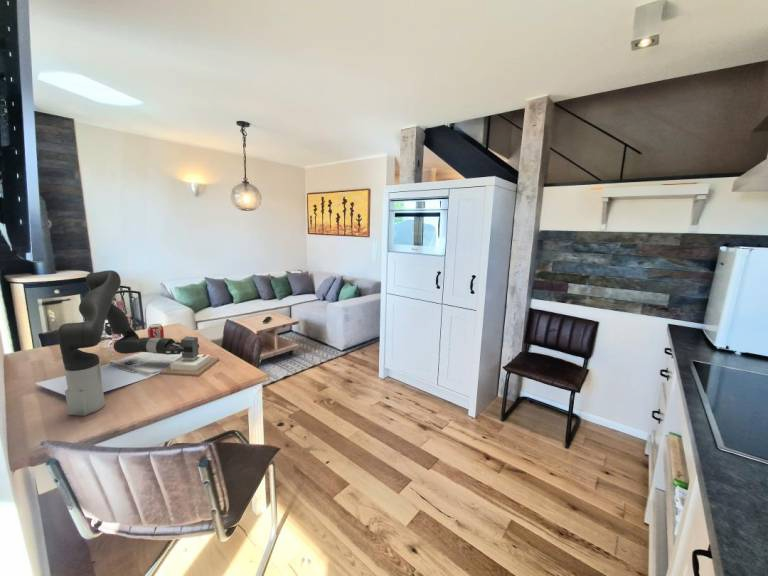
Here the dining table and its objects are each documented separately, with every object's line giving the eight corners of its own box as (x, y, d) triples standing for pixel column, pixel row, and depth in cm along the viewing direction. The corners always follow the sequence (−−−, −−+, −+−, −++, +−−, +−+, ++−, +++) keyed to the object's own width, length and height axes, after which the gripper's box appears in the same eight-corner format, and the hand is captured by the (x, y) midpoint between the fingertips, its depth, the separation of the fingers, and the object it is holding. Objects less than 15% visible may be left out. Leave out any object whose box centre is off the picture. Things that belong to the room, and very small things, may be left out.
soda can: (167, 344, 181) (166, 324, 179) (157, 348, 174) (156, 327, 172) (156, 343, 182) (154, 323, 179) (145, 347, 175) (144, 326, 172)
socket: (198, 376, 147) (197, 367, 146) (159, 374, 147) (159, 365, 146) (219, 360, 164) (218, 352, 164) (184, 358, 165) (184, 350, 164)
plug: (193, 363, 153) (192, 340, 151) (182, 362, 153) (180, 339, 151) (198, 359, 157) (197, 337, 155) (188, 359, 157) (186, 336, 155)
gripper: (149, 343, 146) (185, 346, 146) (170, 333, 160) (203, 335, 160) (150, 359, 148) (186, 361, 148) (171, 347, 162) (204, 349, 162)
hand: (195, 348), depth 154 cm, fingers closed on plug, 4 cm apart
